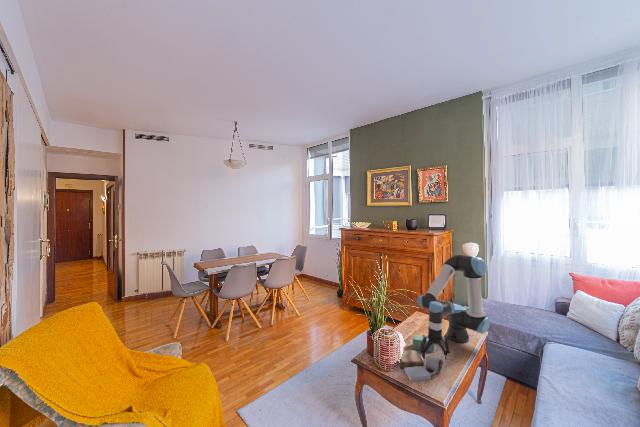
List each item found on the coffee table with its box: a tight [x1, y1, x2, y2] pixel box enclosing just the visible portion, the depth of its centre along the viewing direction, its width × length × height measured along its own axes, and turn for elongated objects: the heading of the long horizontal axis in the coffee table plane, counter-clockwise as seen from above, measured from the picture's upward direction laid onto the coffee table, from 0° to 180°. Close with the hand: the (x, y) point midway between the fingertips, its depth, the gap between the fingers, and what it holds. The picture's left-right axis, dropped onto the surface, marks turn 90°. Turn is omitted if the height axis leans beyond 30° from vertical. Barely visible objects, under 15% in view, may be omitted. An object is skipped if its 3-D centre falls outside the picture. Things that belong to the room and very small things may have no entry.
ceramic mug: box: [424, 355, 443, 376], centre depth 162 cm, size 11×8×8 cm
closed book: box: [403, 365, 432, 382], centre depth 158 cm, size 12×9×2 cm
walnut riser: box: [399, 349, 425, 370], centre depth 171 cm, size 14×14×4 cm
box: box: [412, 334, 435, 353], centre depth 187 cm, size 7×14×8 cm, turn 73°
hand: (433, 363), depth 163 cm, fingers open, 10 cm apart
